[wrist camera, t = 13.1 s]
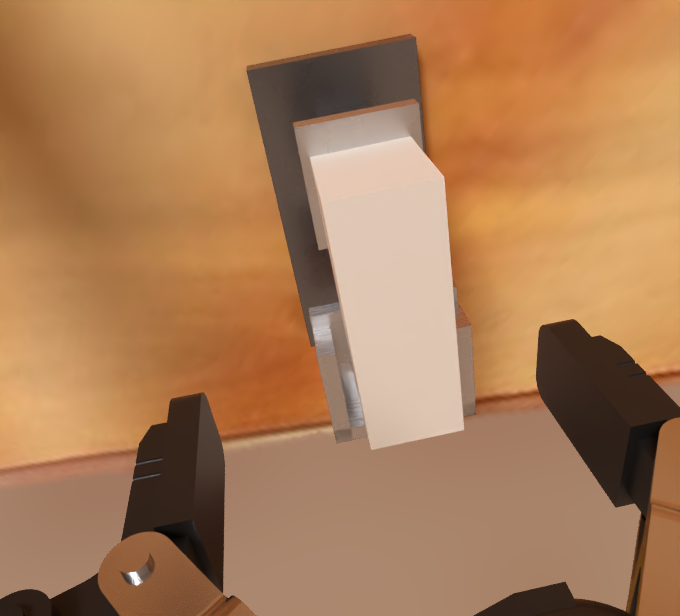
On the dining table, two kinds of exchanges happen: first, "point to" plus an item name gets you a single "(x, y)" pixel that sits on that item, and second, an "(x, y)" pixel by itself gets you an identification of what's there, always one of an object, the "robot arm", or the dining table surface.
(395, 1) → the dining table surface
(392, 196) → the white rectangular block
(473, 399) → the stand
